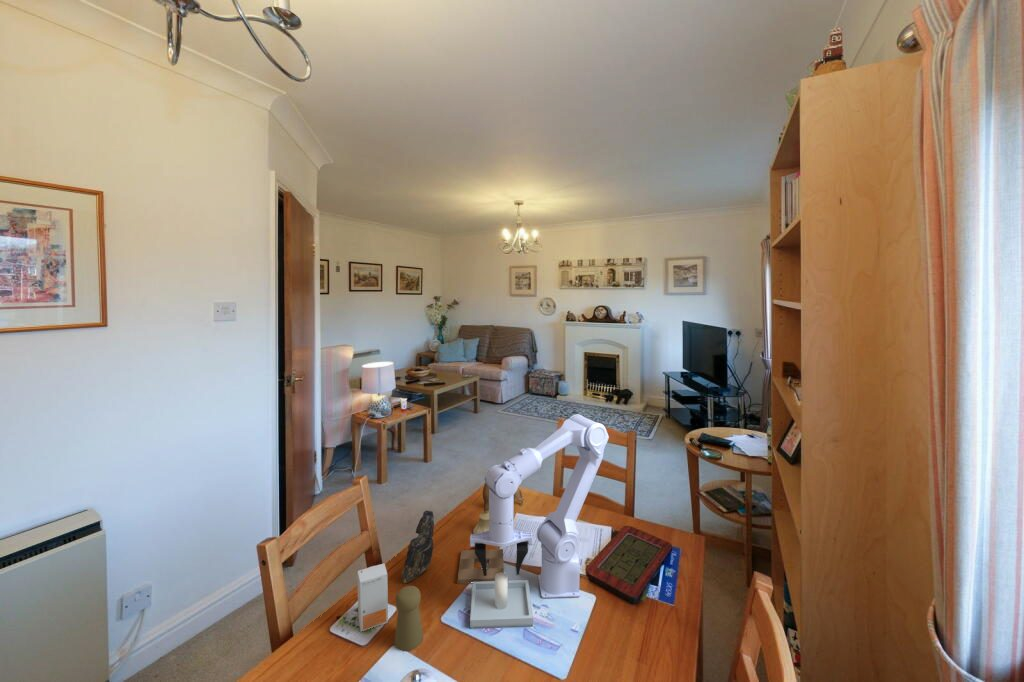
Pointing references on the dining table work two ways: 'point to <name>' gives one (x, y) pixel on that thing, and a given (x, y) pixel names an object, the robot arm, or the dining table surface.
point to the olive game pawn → (408, 619)
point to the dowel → (501, 590)
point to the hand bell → (483, 517)
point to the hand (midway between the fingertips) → (501, 572)
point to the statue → (420, 549)
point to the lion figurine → (518, 496)
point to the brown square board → (476, 575)
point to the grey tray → (511, 616)
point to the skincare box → (372, 597)
